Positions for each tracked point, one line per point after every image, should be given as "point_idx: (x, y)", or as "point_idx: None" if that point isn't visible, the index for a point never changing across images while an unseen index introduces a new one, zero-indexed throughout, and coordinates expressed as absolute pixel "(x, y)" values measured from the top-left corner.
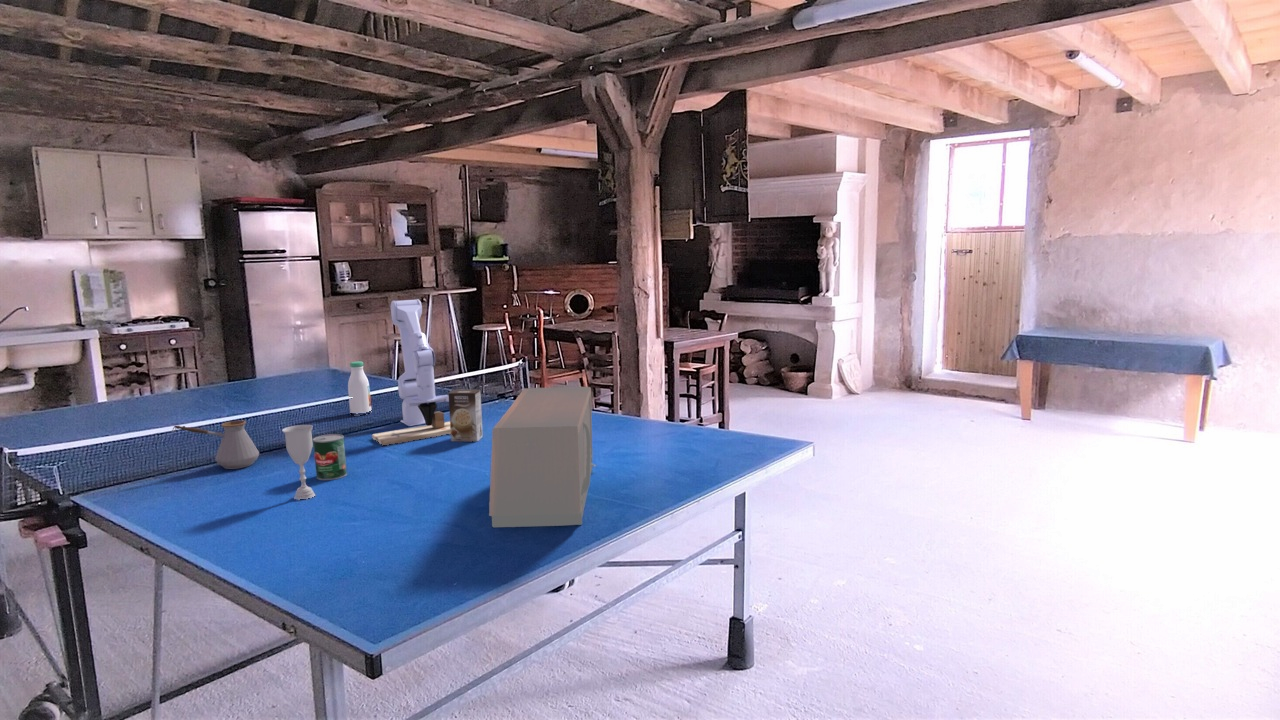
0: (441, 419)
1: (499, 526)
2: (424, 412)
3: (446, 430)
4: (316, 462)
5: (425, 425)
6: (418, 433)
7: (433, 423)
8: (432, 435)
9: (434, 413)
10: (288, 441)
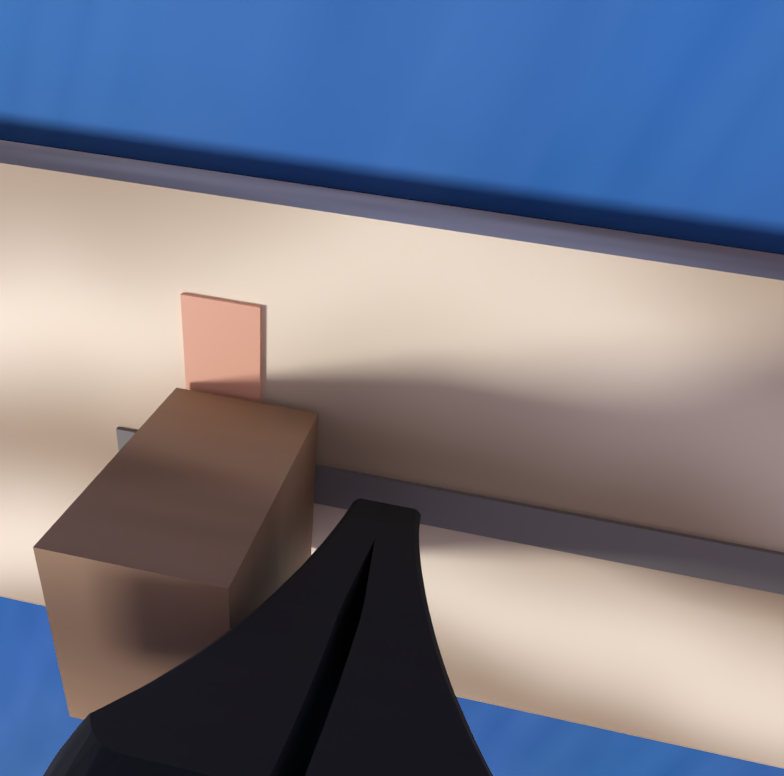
0: (156, 474)
1: None
2: (466, 723)
3: (219, 197)
4: None
5: None
6: (677, 395)
7: (295, 538)
8: (495, 222)
9: None
10: None
